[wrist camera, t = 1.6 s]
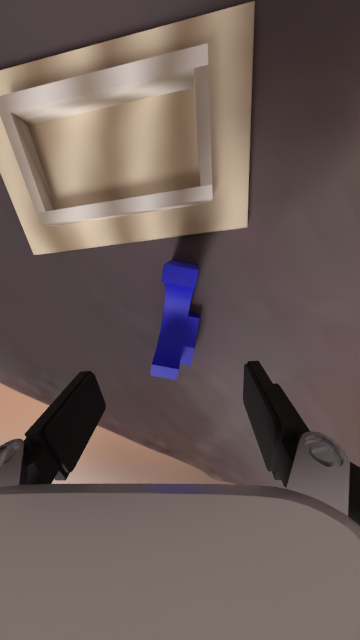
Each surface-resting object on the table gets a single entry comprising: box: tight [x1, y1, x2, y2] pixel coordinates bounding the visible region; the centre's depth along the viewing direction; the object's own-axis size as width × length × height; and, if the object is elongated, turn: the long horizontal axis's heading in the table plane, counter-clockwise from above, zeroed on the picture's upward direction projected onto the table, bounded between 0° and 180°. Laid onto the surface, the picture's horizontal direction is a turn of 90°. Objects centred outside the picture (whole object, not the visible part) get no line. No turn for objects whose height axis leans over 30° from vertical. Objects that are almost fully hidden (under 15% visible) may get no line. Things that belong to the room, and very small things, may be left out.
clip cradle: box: [0, 1, 255, 255], centre depth 16 cm, size 24×14×2 cm, turn 97°
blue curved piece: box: [150, 260, 200, 380], centre depth 19 cm, size 12×4×6 cm, turn 171°
